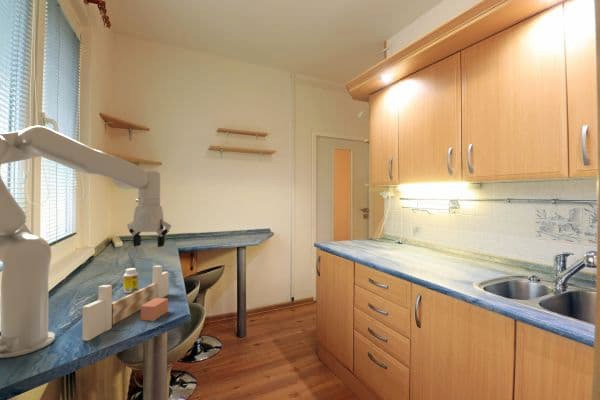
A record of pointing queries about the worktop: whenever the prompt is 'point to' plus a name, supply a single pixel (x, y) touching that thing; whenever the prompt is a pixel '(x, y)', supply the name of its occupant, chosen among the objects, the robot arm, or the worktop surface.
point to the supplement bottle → (130, 281)
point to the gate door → (132, 303)
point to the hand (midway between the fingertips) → (148, 246)
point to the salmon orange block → (154, 309)
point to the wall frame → (100, 311)
